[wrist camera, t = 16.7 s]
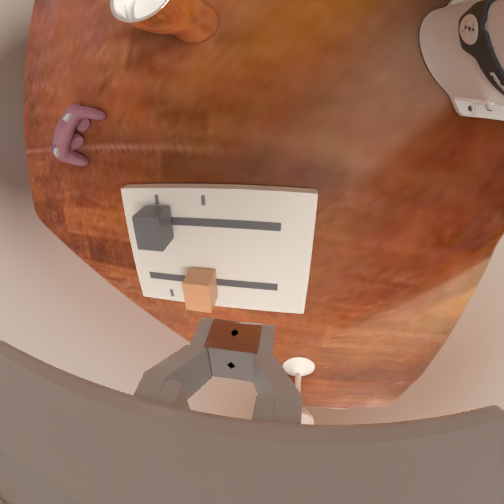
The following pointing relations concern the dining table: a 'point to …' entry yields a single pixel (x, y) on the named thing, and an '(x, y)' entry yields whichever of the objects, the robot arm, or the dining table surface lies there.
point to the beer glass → (168, 17)
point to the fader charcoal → (153, 228)
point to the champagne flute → (299, 369)
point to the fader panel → (230, 242)
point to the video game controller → (65, 129)
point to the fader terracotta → (200, 290)
